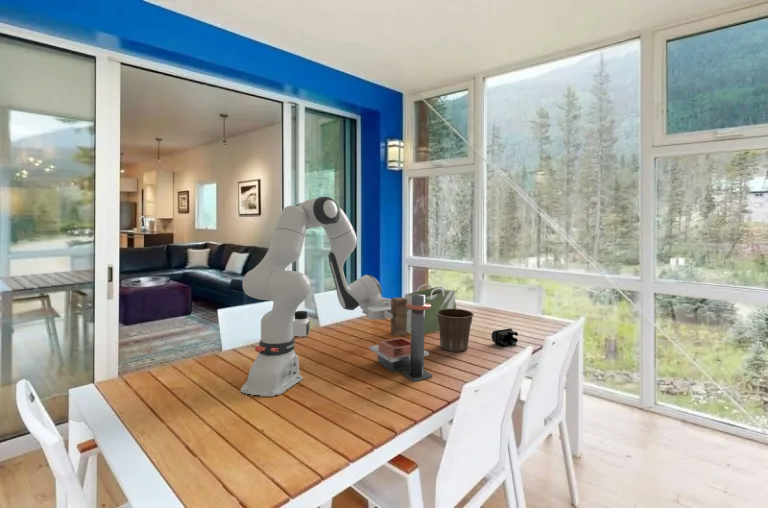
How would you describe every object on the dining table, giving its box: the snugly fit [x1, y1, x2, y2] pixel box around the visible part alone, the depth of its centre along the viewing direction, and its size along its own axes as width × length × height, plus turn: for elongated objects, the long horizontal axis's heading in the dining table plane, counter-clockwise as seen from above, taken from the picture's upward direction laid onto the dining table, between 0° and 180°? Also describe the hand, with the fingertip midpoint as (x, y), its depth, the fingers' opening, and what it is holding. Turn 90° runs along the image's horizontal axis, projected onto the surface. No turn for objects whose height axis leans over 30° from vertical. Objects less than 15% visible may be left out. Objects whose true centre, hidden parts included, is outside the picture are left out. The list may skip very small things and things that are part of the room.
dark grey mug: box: [490, 328, 519, 348], centre depth 186 cm, size 10×7×7 cm
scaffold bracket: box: [368, 294, 433, 382], centre depth 153 cm, size 26×17×30 cm, turn 30°
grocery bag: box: [404, 283, 457, 334], centre depth 212 cm, size 32×14×23 cm, turn 128°
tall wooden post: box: [390, 296, 408, 337], centre depth 157 cm, size 4×4×14 cm
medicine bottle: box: [293, 310, 311, 337], centre depth 196 cm, size 7×7×12 cm
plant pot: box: [437, 308, 474, 353], centre depth 179 cm, size 16×16×16 cm
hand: (400, 315), depth 156 cm, fingers closed on tall wooden post, 4 cm apart
